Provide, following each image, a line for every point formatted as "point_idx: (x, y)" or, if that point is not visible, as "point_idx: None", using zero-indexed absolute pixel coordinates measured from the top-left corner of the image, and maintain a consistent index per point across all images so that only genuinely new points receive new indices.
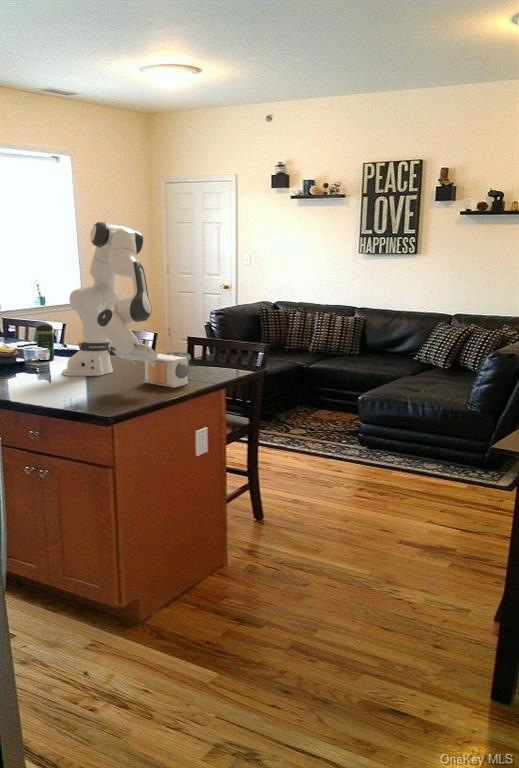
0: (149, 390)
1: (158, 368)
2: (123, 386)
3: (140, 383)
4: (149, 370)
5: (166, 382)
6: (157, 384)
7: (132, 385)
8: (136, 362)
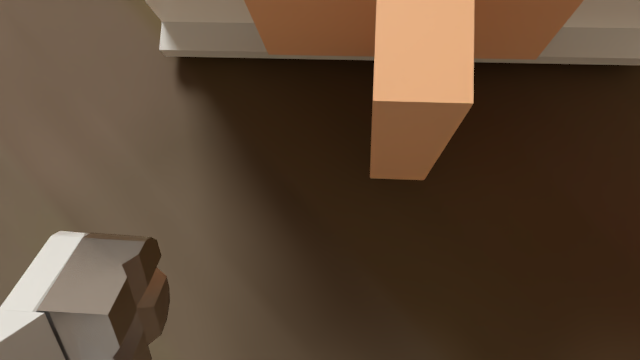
0: (520, 341)
1: None
2: None
3: (150, 93)
4: (396, 141)
5: None
6: None
7: None
8: (145, 311)
